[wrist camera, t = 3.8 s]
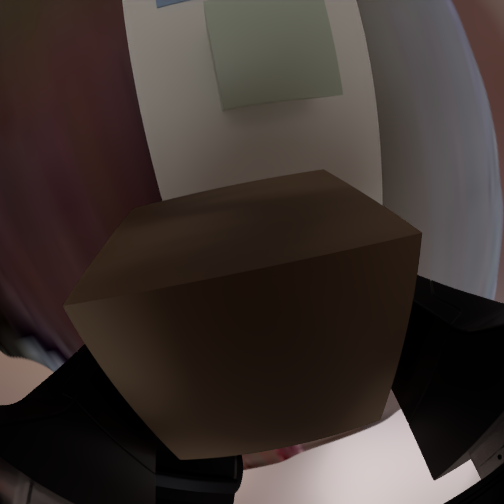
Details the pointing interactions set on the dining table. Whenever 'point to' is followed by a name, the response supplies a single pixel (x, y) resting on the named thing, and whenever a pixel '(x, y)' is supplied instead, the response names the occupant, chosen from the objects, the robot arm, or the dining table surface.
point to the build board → (246, 108)
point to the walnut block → (252, 312)
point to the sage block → (271, 51)
